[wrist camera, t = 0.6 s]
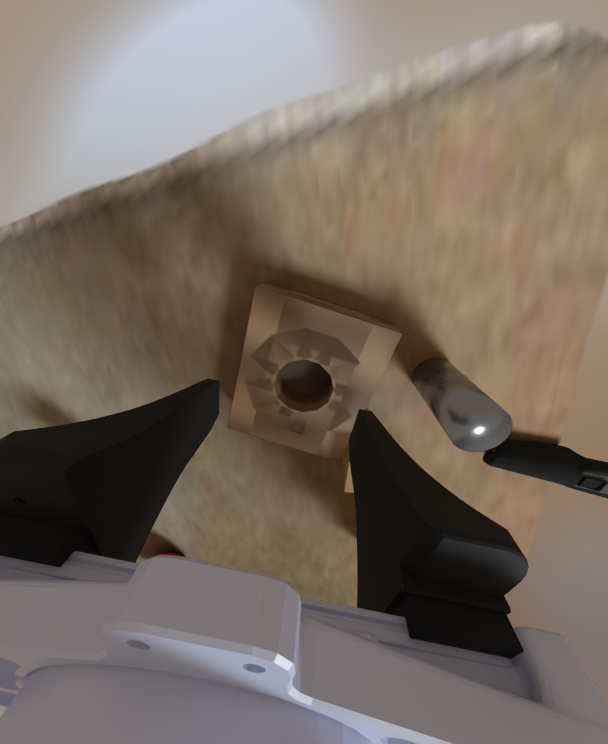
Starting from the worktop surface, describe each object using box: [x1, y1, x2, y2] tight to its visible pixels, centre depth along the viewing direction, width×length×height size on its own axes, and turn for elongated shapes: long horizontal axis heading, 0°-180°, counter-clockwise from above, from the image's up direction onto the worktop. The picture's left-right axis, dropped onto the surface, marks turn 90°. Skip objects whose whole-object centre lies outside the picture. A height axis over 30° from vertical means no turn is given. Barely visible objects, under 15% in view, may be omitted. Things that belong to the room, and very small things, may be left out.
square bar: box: [342, 442, 354, 493], centre depth 21 cm, size 3×3×5 cm
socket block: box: [228, 282, 402, 462], centre depth 19 cm, size 12×10×3 cm
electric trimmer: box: [483, 440, 608, 498], centre depth 21 cm, size 4×16×3 cm, turn 78°
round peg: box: [413, 358, 512, 452], centre depth 17 cm, size 3×3×7 cm
